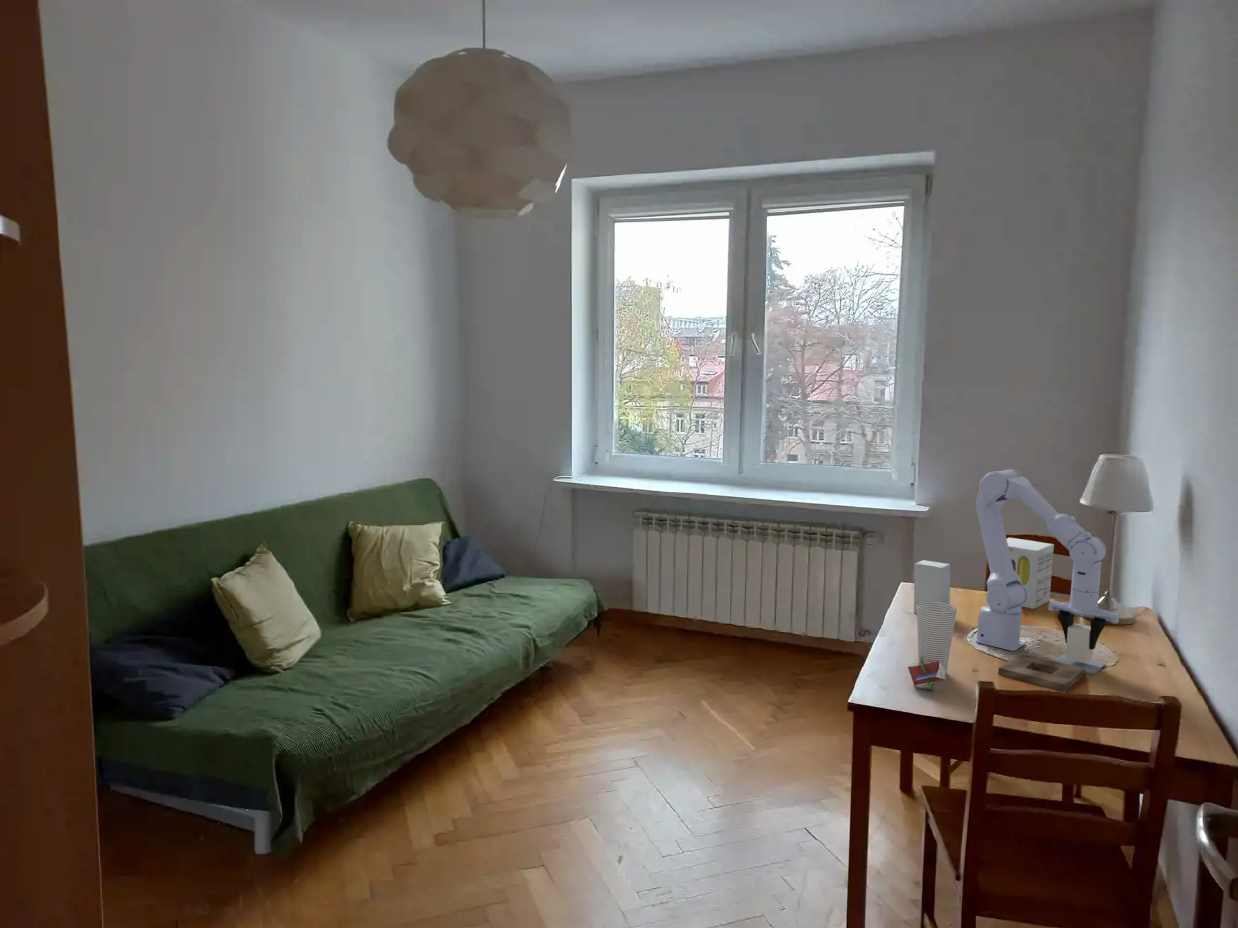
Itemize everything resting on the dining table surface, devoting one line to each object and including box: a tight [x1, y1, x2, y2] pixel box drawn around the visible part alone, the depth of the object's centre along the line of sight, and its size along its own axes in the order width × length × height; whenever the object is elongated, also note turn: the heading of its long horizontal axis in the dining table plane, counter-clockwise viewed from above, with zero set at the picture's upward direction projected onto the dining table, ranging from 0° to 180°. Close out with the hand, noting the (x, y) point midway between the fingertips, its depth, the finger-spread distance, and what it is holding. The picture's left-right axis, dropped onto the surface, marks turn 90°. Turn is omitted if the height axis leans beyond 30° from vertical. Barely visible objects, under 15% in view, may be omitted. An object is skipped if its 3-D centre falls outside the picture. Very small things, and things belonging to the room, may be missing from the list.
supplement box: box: [1006, 537, 1055, 609], centre depth 253 cm, size 13×13×18 cm
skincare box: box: [913, 559, 951, 615], centre depth 237 cm, size 8×6×15 cm
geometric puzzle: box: [907, 656, 947, 693], centre depth 184 cm, size 7×7×8 cm
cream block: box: [1065, 622, 1094, 663], centre depth 199 cm, size 4×4×8 cm
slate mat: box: [1054, 653, 1106, 676], centre depth 200 cm, size 9×9×1 cm
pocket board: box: [997, 652, 1086, 692], centre depth 193 cm, size 14×14×2 cm
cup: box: [916, 601, 958, 675], centre depth 193 cm, size 8×8×16 cm
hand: (1080, 645), depth 199 cm, fingers closed on cream block, 4 cm apart
